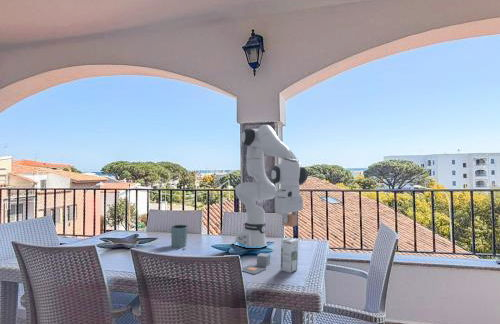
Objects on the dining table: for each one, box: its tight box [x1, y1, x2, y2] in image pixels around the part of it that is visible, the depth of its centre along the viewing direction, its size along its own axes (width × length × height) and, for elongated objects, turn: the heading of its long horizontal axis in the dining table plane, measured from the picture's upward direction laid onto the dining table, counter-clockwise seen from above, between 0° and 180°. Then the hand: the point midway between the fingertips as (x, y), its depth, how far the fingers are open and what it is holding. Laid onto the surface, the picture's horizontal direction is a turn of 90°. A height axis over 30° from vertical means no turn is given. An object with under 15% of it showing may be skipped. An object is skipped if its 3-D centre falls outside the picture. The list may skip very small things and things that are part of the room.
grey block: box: [256, 252, 271, 268], centre depth 147 cm, size 5×5×5 cm
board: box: [241, 264, 267, 275], centre depth 140 cm, size 9×9×1 cm
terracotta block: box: [282, 213, 298, 228], centre depth 140 cm, size 5×5×5 cm
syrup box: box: [280, 237, 299, 274], centre depth 140 cm, size 6×6×14 cm
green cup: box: [170, 224, 189, 249], centre depth 180 cm, size 10×10×12 cm
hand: (289, 221), depth 140 cm, fingers closed on terracotta block, 5 cm apart
